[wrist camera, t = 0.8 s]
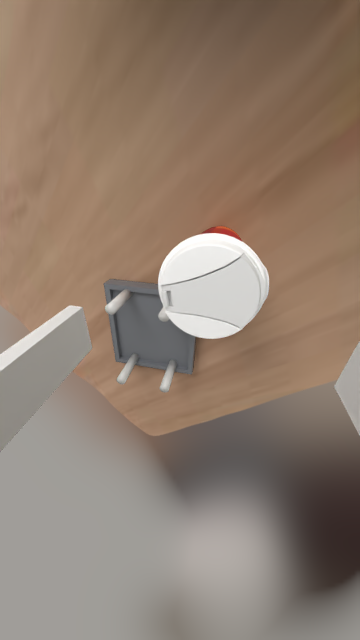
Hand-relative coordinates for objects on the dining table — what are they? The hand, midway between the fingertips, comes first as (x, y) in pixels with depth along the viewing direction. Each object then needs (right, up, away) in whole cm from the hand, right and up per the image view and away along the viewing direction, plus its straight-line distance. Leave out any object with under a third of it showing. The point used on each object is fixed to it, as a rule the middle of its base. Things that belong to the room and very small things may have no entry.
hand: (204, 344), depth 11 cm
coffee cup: (+4, +10, +17) cm, 21 cm away
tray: (-5, 0, +25) cm, 26 cm away
